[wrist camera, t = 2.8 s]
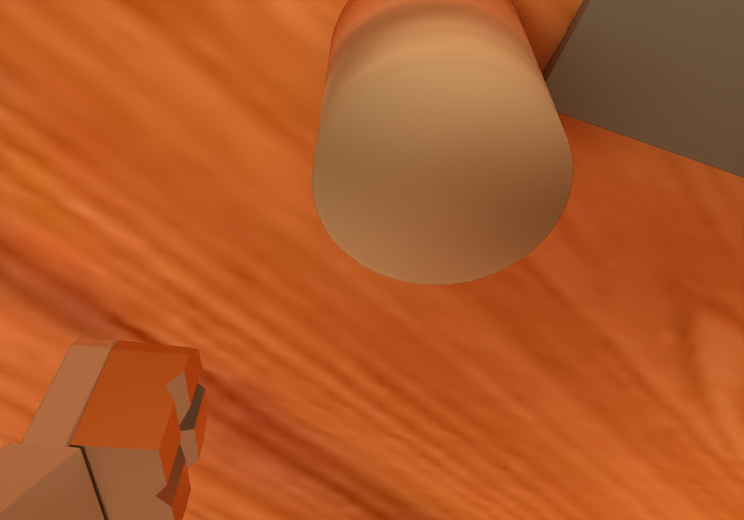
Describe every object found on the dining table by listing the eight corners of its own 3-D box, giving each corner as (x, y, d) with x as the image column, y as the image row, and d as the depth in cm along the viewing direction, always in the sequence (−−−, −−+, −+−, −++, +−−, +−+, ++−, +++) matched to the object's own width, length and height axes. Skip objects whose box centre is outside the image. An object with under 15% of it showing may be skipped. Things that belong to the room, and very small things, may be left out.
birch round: (474, 165, 20) (500, 309, 16) (307, 111, 19) (282, 247, 15) (560, 1, 17) (624, 118, 13) (368, -74, 16) (361, 24, 12)
